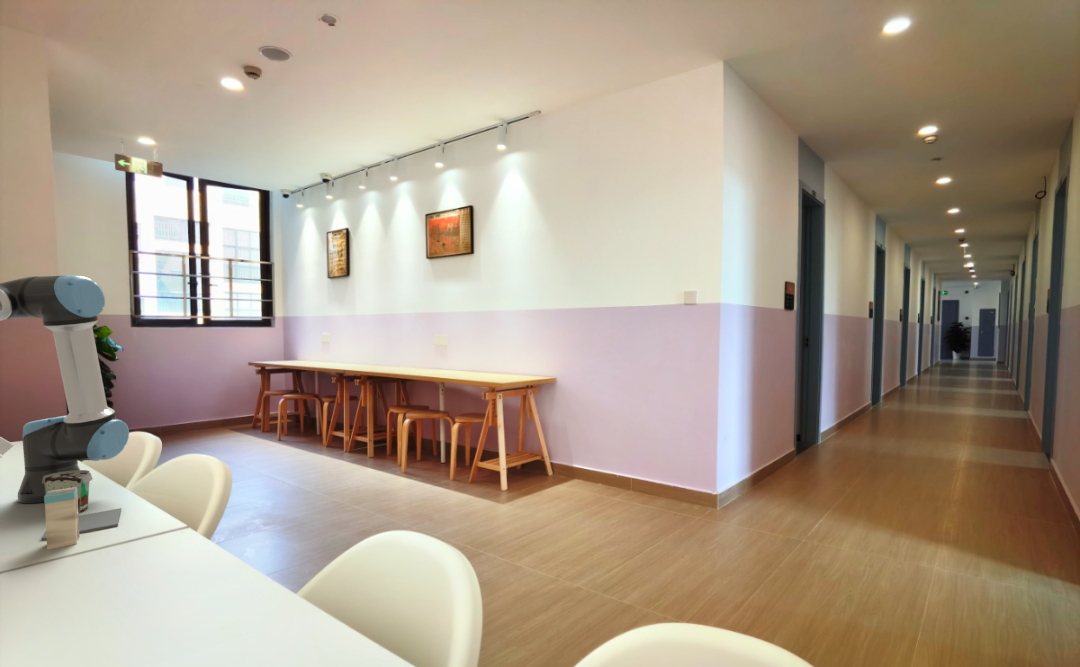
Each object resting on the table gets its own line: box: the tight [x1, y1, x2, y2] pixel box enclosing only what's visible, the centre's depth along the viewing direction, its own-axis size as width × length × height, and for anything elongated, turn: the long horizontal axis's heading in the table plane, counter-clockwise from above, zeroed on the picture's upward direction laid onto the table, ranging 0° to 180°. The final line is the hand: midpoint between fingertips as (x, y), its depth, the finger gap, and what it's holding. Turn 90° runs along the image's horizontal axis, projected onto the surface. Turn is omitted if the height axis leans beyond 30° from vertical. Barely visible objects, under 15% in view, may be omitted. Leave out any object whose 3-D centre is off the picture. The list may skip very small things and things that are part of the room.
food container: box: [42, 469, 93, 514], centre depth 146 cm, size 12×6×10 cm, turn 84°
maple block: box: [43, 487, 80, 550], centre depth 123 cm, size 5×5×12 cm
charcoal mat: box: [40, 507, 122, 542], centre depth 135 cm, size 14×14×1 cm
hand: (3, 455), depth 117 cm, fingers open, 13 cm apart
